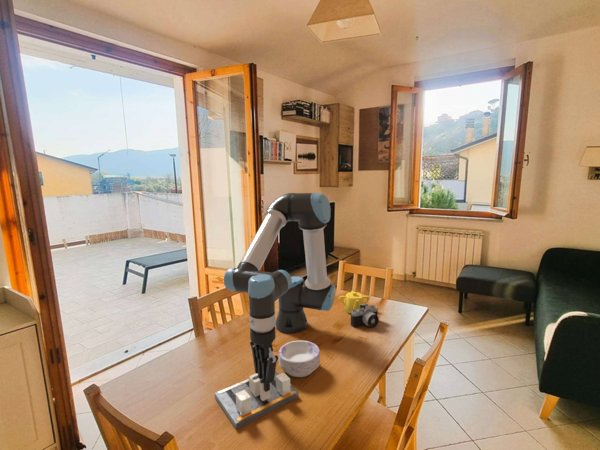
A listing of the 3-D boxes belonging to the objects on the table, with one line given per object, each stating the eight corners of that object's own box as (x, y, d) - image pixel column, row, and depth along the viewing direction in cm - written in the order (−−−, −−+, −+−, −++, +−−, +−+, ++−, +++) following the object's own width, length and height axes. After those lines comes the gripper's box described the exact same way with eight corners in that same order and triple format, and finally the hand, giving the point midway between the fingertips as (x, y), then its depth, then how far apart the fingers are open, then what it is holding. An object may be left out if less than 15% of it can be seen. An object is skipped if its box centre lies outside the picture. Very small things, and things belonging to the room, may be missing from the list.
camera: (358, 333, 145) (359, 312, 143) (347, 325, 153) (347, 305, 151) (385, 325, 152) (385, 306, 150) (372, 318, 160) (373, 299, 158)
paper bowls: (273, 363, 122) (272, 344, 121) (309, 354, 128) (309, 336, 127) (287, 387, 109) (287, 366, 107) (327, 376, 115) (327, 355, 113)
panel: (215, 398, 104) (213, 378, 103) (273, 373, 117) (272, 354, 115) (236, 429, 91) (234, 406, 90) (298, 397, 104) (298, 377, 103)
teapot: (373, 311, 167) (373, 293, 165) (357, 319, 159) (357, 299, 157) (352, 304, 177) (352, 286, 176) (336, 310, 169) (336, 292, 167)
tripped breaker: (249, 390, 104) (249, 375, 103) (257, 386, 106) (257, 372, 105) (255, 397, 101) (254, 382, 100) (263, 393, 103) (263, 378, 102)
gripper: (241, 322, 98) (244, 391, 102) (262, 339, 88) (265, 416, 92) (262, 315, 103) (265, 382, 107) (285, 331, 92) (286, 404, 96)
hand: (265, 397), depth 99 cm, fingers closed
